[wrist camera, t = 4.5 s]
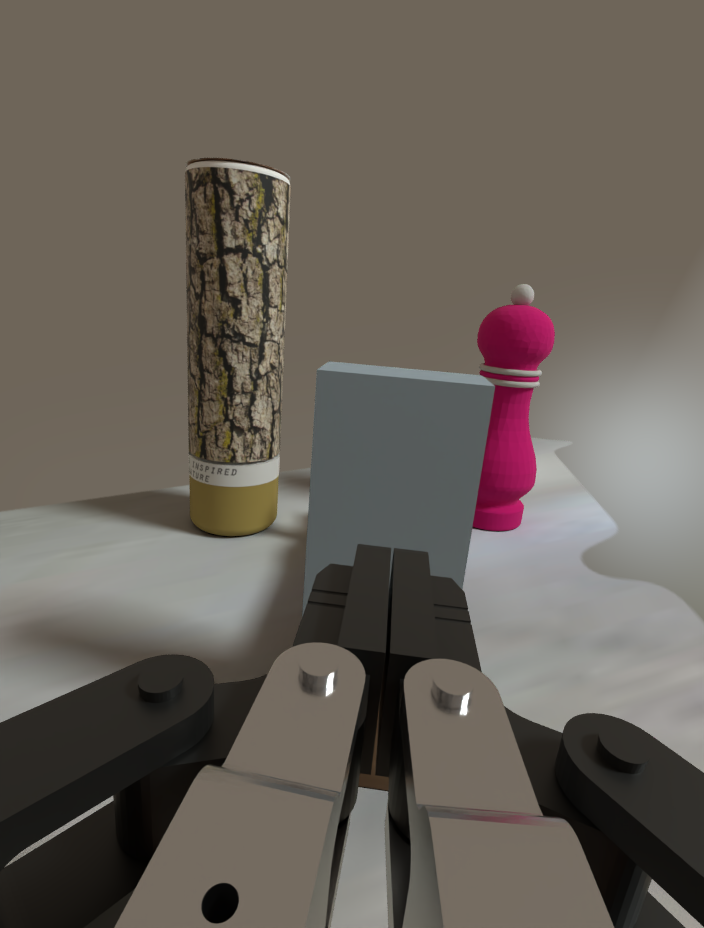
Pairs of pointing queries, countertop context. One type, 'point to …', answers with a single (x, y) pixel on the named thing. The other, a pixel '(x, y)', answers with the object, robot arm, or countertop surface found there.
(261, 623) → the countertop surface
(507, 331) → the pepper mill
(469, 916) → the robot arm
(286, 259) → the paper tube
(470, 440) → the light blue block
